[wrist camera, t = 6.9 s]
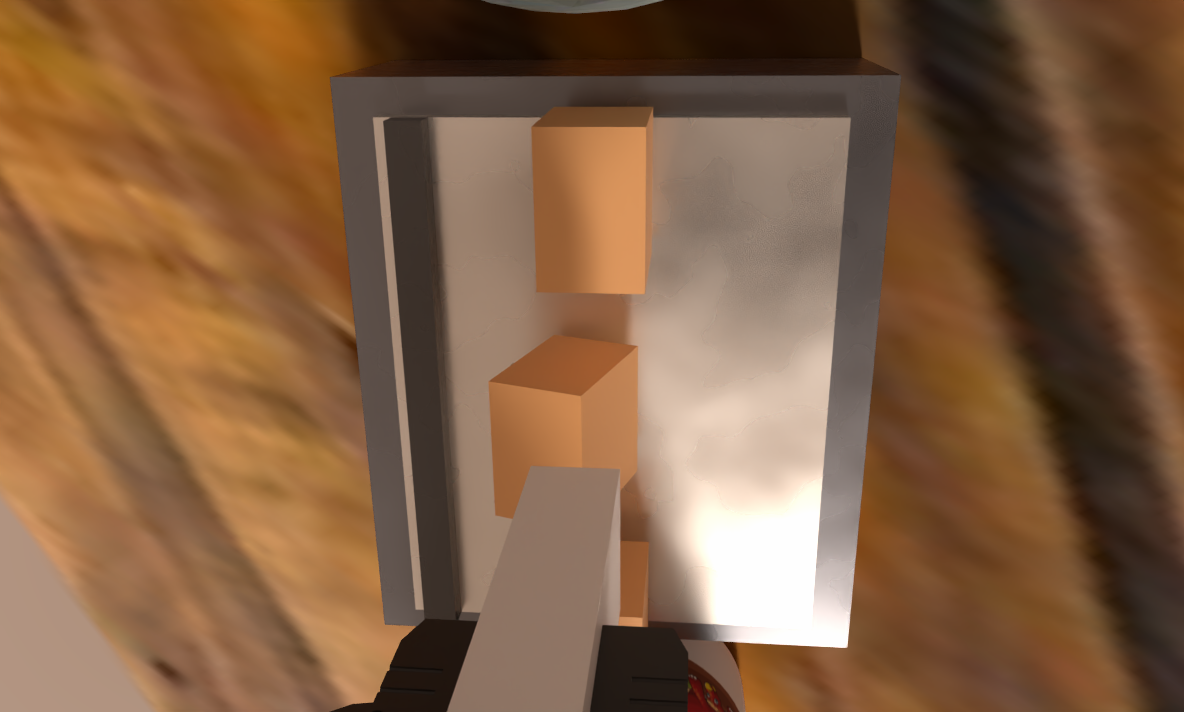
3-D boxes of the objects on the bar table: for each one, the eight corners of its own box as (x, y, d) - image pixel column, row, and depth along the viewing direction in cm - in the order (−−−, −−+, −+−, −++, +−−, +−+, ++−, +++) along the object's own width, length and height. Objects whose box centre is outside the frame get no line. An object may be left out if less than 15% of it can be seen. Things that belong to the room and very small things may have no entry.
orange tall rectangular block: (652, 107, 20) (646, 126, 17) (651, 252, 21) (644, 294, 18) (553, 106, 20) (531, 126, 17) (557, 251, 21) (536, 292, 18)
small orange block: (637, 346, 21) (580, 396, 19) (637, 471, 22) (583, 534, 20) (554, 334, 22) (488, 381, 20) (557, 455, 23) (495, 515, 21)
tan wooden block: (648, 542, 23) (642, 618, 21) (647, 648, 24) (641, 734, 22) (564, 538, 24) (546, 613, 21) (566, 644, 25) (550, 728, 22)
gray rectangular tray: (862, 58, 25) (910, 79, 19) (823, 543, 30) (853, 673, 24) (395, 59, 26) (313, 81, 20) (431, 528, 31) (373, 647, 25)
